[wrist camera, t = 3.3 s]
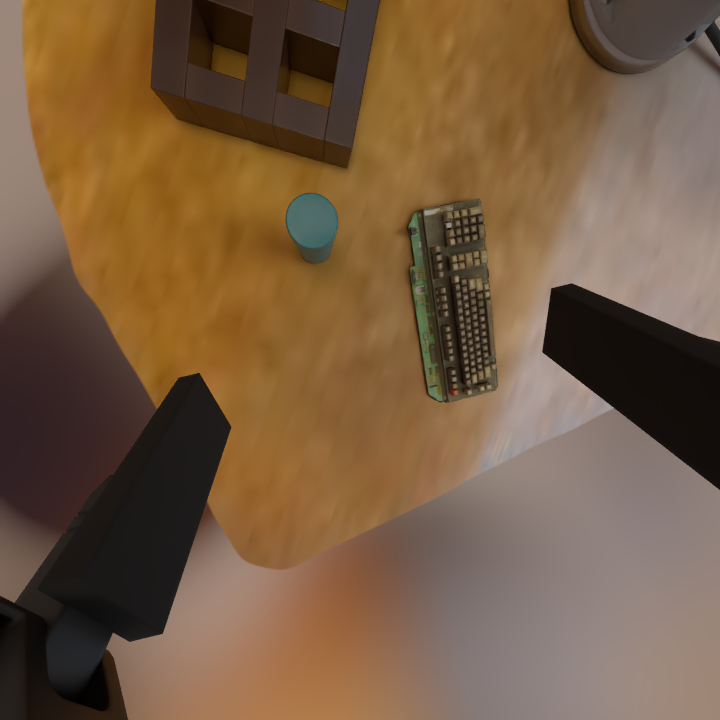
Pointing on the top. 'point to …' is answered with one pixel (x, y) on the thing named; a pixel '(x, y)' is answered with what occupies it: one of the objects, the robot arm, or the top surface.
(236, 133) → the peg board
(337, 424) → the top surface
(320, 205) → the peg
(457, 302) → the keyboard
